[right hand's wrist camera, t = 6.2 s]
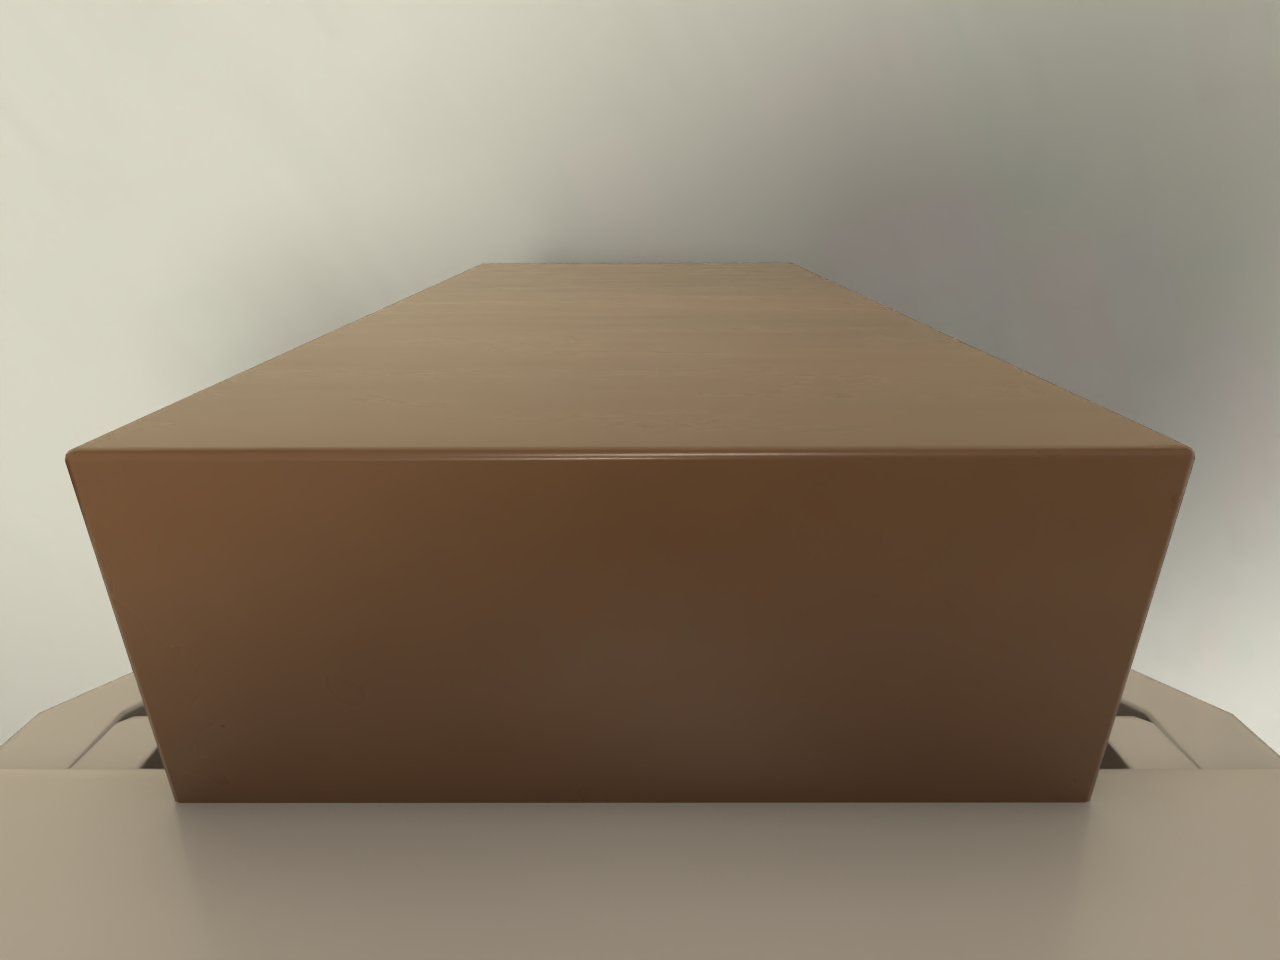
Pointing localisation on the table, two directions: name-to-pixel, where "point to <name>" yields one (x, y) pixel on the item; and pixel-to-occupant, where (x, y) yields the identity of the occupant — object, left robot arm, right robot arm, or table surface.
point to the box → (632, 553)
